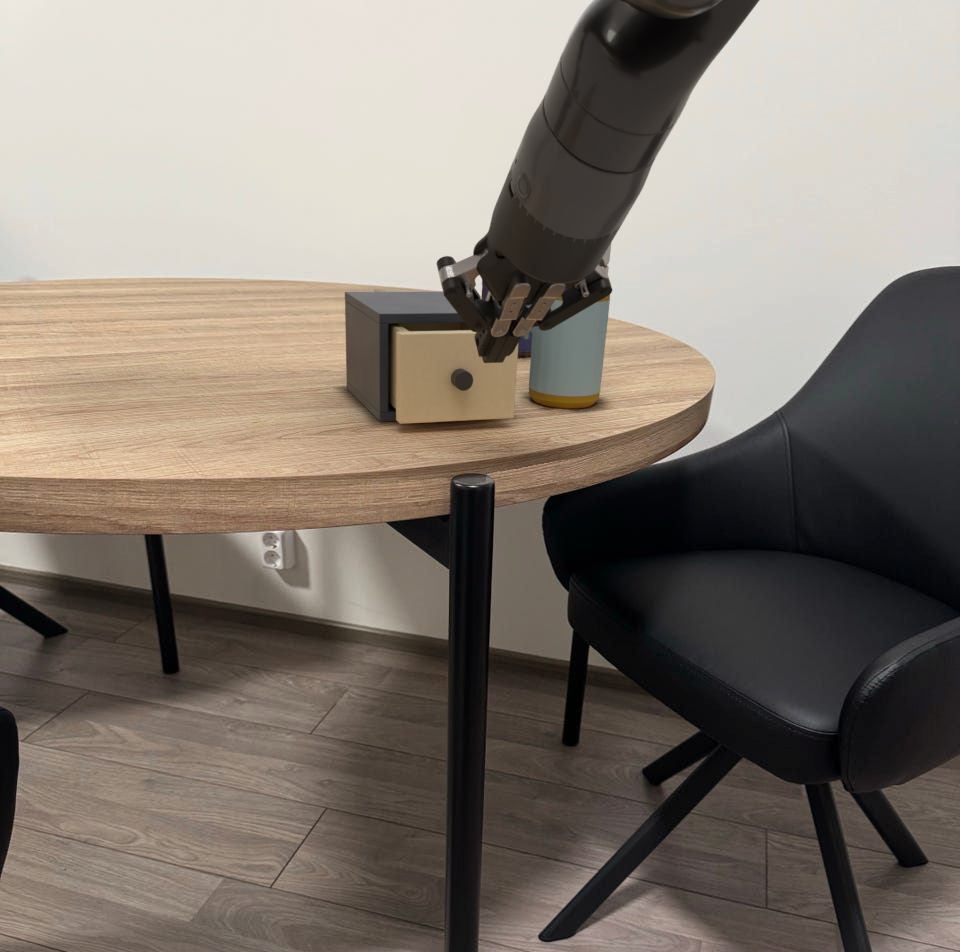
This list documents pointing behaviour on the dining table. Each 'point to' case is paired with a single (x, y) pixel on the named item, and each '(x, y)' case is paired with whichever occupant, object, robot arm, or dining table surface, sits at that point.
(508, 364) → the drawer
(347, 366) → the cabinet
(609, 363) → the dining table surface
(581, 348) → the bottle
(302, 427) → the dining table surface
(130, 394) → the dining table surface
